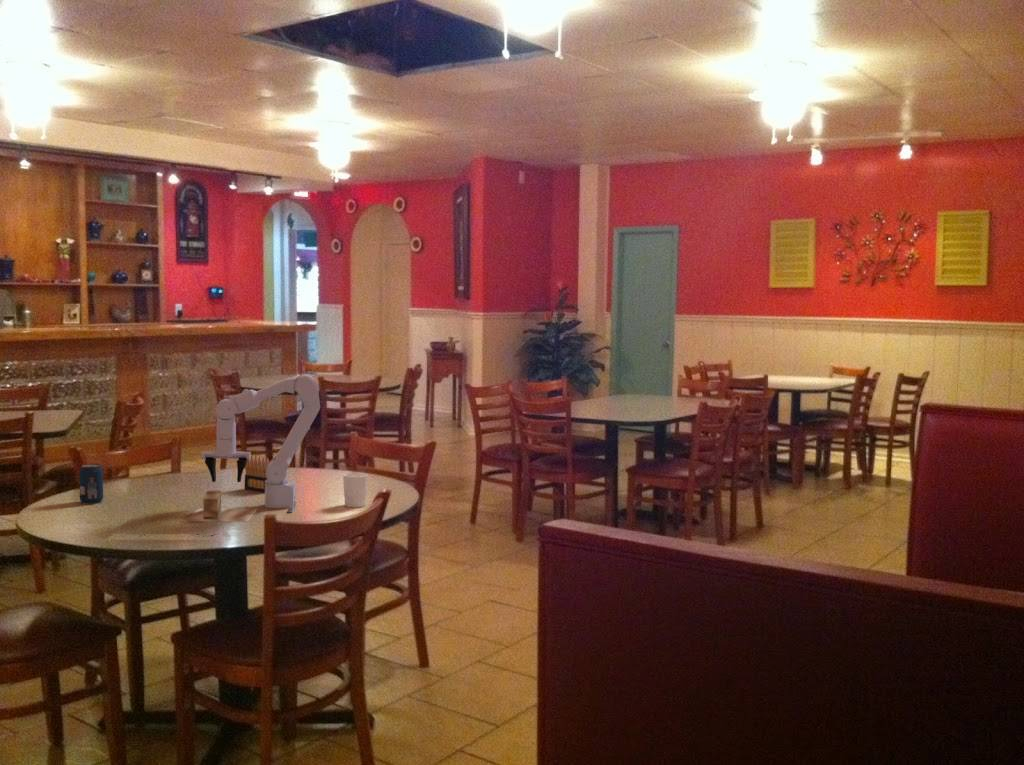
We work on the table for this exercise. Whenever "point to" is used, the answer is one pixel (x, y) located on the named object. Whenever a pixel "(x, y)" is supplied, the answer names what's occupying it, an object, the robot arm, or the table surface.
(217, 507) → the block
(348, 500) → the white cup
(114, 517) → the table surface
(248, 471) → the ammunition clip
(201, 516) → the birch board
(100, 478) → the soda can
